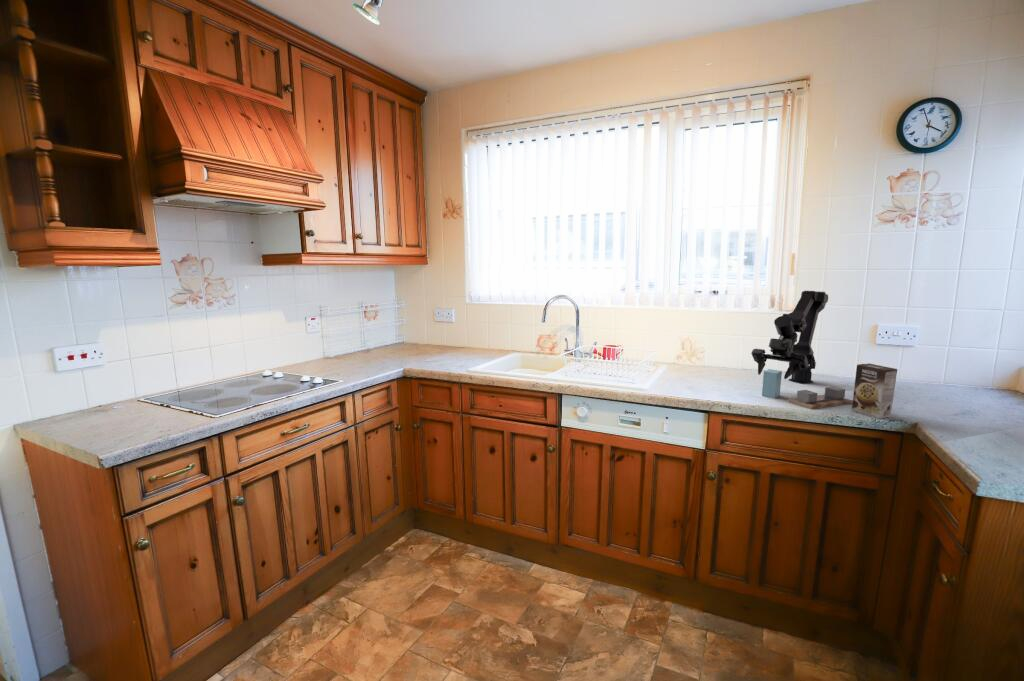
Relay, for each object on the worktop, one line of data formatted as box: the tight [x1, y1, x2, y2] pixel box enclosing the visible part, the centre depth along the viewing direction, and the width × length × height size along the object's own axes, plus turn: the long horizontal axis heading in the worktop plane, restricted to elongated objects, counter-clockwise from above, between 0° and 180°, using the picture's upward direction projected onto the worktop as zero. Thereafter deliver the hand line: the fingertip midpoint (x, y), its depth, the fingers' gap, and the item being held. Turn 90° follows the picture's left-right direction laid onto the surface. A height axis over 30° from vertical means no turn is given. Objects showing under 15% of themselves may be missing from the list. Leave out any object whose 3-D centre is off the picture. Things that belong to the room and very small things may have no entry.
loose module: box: [761, 368, 783, 399], centre depth 181 cm, size 4×5×10 cm
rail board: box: [787, 394, 853, 410], centre depth 172 cm, size 20×9×1 cm, turn 109°
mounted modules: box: [796, 386, 846, 402], centre depth 172 cm, size 18×4×3 cm, turn 109°
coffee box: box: [851, 363, 898, 419], centre depth 158 cm, size 9×6×16 cm
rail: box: [797, 396, 845, 404], centre depth 172 cm, size 18×4×1 cm, turn 109°
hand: (771, 376), depth 180 cm, fingers open, 9 cm apart
